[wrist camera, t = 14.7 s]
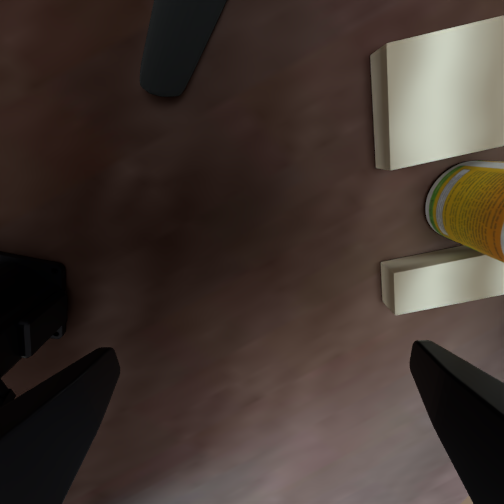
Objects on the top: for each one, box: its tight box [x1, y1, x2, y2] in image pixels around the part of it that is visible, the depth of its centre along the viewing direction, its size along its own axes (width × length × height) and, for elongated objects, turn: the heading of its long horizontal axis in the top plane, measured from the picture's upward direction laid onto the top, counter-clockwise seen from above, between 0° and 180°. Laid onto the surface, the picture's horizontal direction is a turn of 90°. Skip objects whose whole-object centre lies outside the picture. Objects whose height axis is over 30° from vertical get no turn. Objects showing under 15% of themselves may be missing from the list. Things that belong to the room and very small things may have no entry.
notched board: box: [370, 15, 504, 315], centre depth 18 cm, size 11×17×2 cm, turn 12°
